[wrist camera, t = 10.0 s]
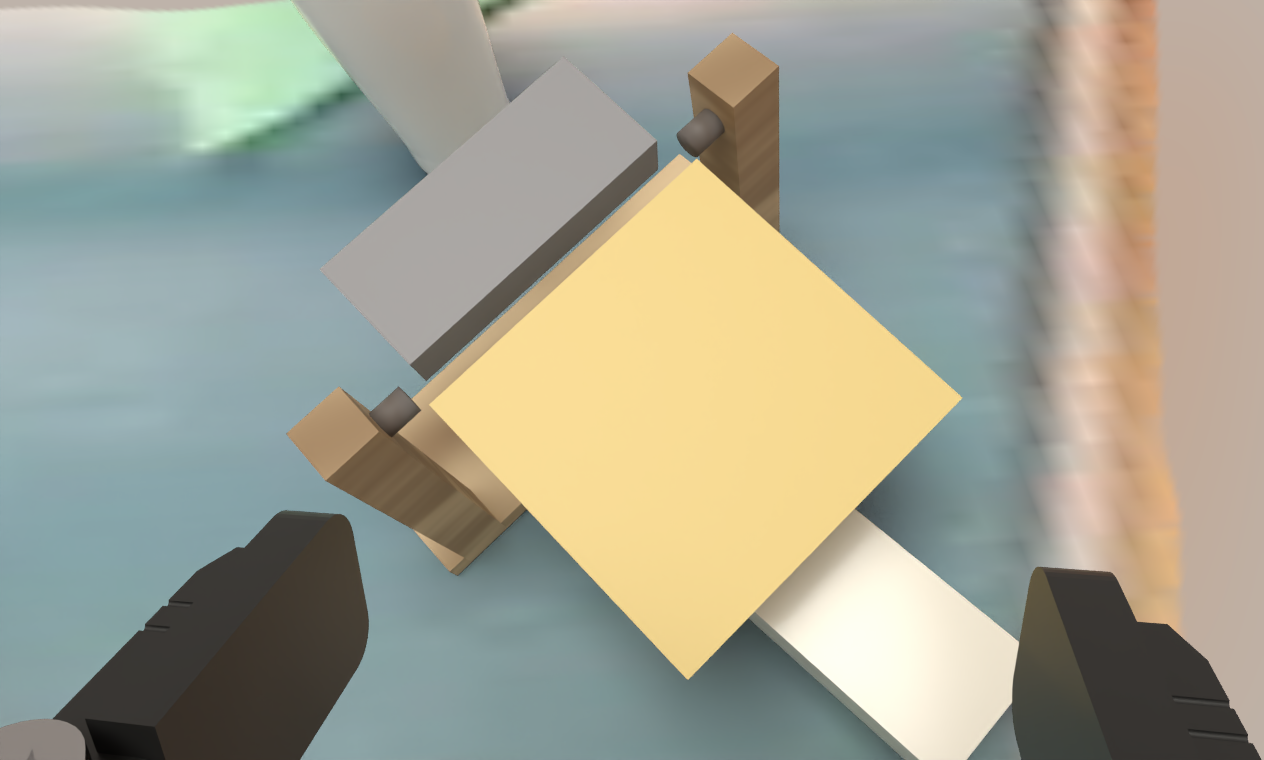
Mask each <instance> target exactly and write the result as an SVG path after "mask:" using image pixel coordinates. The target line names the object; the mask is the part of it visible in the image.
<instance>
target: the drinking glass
mask: <svg viewBox="0 0 1264 760" xmlns="http://www.w3.org/2000/svg"><path fill="white" fill-rule="evenodd" d="M290 1H291V2H292V4H293V5H294V6H295V8H296V9H297V11H298V12H299V14H300V15H301V17H302V18H303V19H304V21H305V22H306V23H307V25H308V26H309V27H310V29H311V30H312V31H313V33H314V34H315V35H316V36H317V38H318V39H319V40H320V41H321V43H322V44H323V45H324V46H325V48H326V49H327V50H328V51H329V53H330V54H331V55H332V56H333V57H334V59H335V60H336V61H337V62H338V63H339V65H340V66H341V67H342V68H343V69H344V71H345V72H346V73H347V74H348V75H349V77H350V78H351V79H352V80H353V81H354V83H355V84H356V85H357V86H358V87H359V89H360V90H361V91H362V92H363V93H364V95H365V96H366V97H367V98H368V100H369V101H370V102H371V103H372V104H373V106H374V107H375V108H376V109H377V111H378V112H379V113H380V114H381V115H382V117H383V118H384V119H385V120H386V122H387V123H388V124H389V125H390V126H391V128H392V129H393V130H394V131H395V133H396V134H397V135H398V136H399V138H400V139H401V140H402V141H403V143H404V144H405V145H406V147H407V148H408V150H409V151H410V153H411V154H412V156H413V158H414V159H415V161H416V162H417V164H418V165H419V166H420V167H421V168H422V169H423V170H424V171H425V172H426V173H427V174H429V173H430V172H432V171H433V170H434V169H435V168H436V167H437V166H438V165H440V164H441V163H442V162H443V161H444V160H445V159H447V158H448V157H449V156H450V155H451V154H452V153H453V152H455V151H456V150H457V149H458V148H459V147H460V146H461V145H463V144H464V143H465V142H466V141H467V140H468V139H469V138H471V137H472V136H473V135H474V134H475V133H476V132H477V131H479V130H480V129H481V128H482V127H483V126H484V125H485V124H487V123H488V122H489V121H490V120H491V119H492V118H494V117H495V116H496V115H497V114H498V113H499V112H500V111H502V110H503V109H504V108H505V107H506V106H507V105H508V104H510V102H509V99H508V97H507V95H506V92H505V88H504V85H503V82H502V79H501V75H500V72H499V69H498V65H497V62H496V59H495V55H494V52H493V49H492V45H491V42H490V38H489V35H488V32H487V28H486V25H485V21H484V18H483V14H482V11H481V7H480V4H479V0H290Z"/></svg>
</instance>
